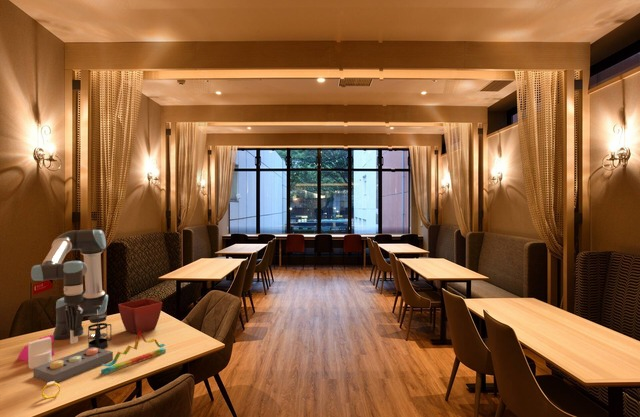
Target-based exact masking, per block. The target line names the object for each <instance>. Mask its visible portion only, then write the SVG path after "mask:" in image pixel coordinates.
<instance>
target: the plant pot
mask: <svg viewBox="0 0 640 417" xmlns="http://www.w3.org/2000/svg"><path fill="white" fill-rule="evenodd" d="M162 308H163V302H162V301H160V300H156V299H153V298H149V297H147V298H146V297H145V298H143V299H142V298H140V299H136V300H132V301H126V302H123V303H118V310H119V314H120V319H121V321H122V324H123V327H124V329H125V331H127V332H129V333H132V334H134V335H138V331H141V332H142V333H145V332H149V331H152V330H155V329H156V328H157V324H158V321H159V320H160V319H159V318H160V315H161V313H162V312H161V311H162Z"/></svg>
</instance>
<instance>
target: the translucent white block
mask: <svg viewBox="0 0 640 417" xmlns="http://www.w3.org/2000/svg"><path fill="white" fill-rule="evenodd" d="M27 345H28V368H29V369H32V370H33V368H35V367H38V366H41V365H44V364H46V363H49V362H52V357H53V355H52V352H51V350H52V343H51V337H47V338H43V339H39V338H38V339H36V340H32V341H29V342H27Z"/></svg>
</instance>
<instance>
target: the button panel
mask: <svg viewBox="0 0 640 417" xmlns="http://www.w3.org/2000/svg"><path fill="white" fill-rule="evenodd" d="M91 348H96V347H91ZM89 349H90V348H89ZM86 350H88V348H86V349H83V350H81V351H78V352H74V353H72V354H69V355H67V356H64V357H61V358H60V357H59V358H58V359H55V360H53V361H52V362H54V361H58V360H63V366H64V367H61V368H58V369H56V370H51V369H50V363H51V362H49V363H46V364H44V365H41V366H38V367H35V368H33V369H32V370H33V378H35V379H38V380H41V381H44V382H47V383H48V382H51V381H55V383H58V384H59V383H60V382H62V381H64V380H67V379H70V378H72V377H74V376H77V375H79V374H82V373H84V372H87V371H90V370H92V369H94V368H97V367H99V366H102V365H101V364H106V363H107V364H108V363H110V362H112V361H113V360H114V351H111V350H106V349H100V348H98V354H95V355H93V356H90V357H89V356H86ZM74 356H81V360H80V361H77V362H74V363H70V362H69V358H71V357H74Z"/></svg>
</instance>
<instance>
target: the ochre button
mask: <svg viewBox="0 0 640 417" xmlns="http://www.w3.org/2000/svg"><path fill="white" fill-rule="evenodd" d="M57 360H58V359H57ZM53 361H54V362H51V363H50V369H51V370H56V369H58V368H61V367H64V366H63V360H58V361H55V360H53Z"/></svg>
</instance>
